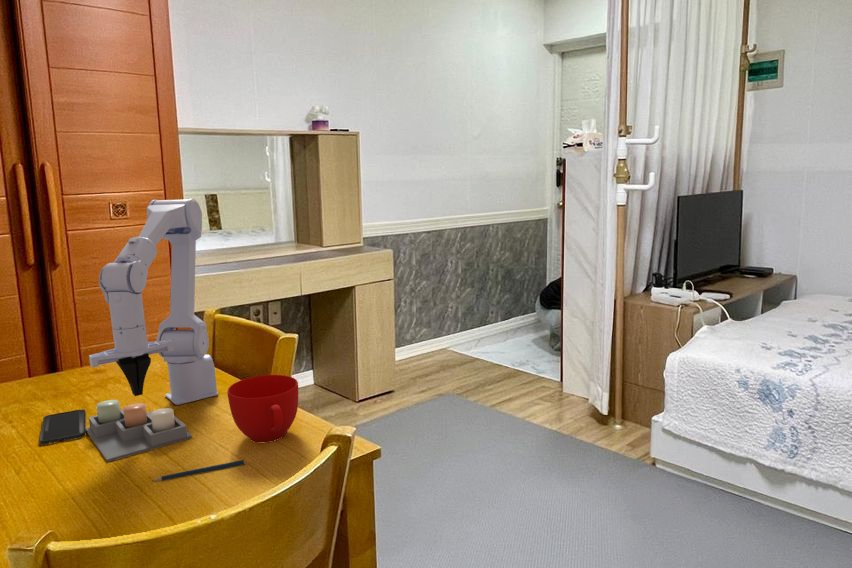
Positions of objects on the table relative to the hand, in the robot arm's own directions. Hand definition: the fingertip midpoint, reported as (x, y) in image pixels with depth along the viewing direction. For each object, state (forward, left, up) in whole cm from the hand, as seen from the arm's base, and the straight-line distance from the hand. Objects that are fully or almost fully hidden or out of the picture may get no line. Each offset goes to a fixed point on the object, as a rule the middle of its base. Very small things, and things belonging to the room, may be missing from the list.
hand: (137, 394), depth 126 cm
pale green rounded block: (+4, -7, -6) cm, 10 cm away
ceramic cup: (-18, +19, -9) cm, 28 cm away
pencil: (-3, +23, -9) cm, 25 cm away
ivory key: (-3, +5, -6) cm, 8 cm away
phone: (+11, -15, -9) cm, 21 cm away
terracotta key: (+1, -1, -6) cm, 6 cm away
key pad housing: (+1, -1, -8) cm, 8 cm away
